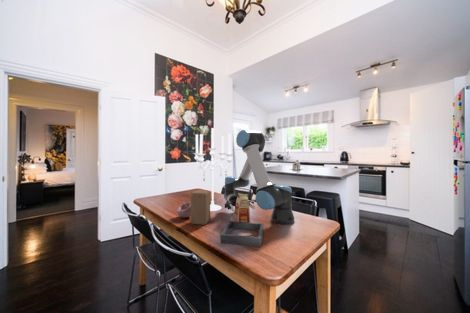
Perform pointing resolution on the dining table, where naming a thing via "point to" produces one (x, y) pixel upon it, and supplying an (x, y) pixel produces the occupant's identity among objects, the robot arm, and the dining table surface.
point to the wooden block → (200, 207)
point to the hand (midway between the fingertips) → (243, 208)
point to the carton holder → (239, 238)
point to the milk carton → (242, 209)
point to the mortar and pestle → (184, 210)
